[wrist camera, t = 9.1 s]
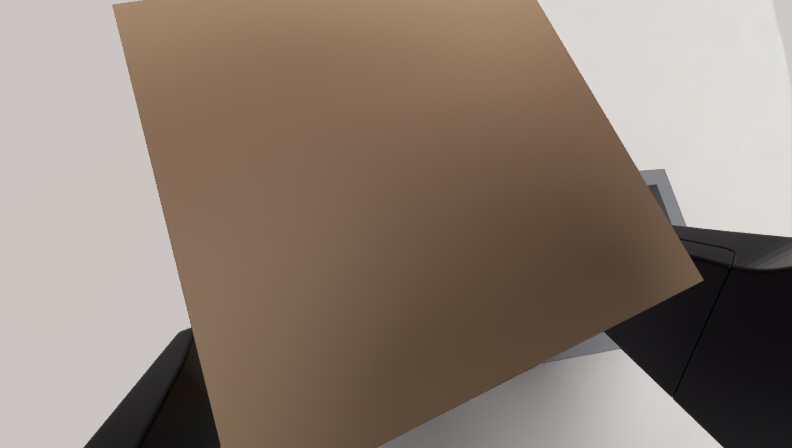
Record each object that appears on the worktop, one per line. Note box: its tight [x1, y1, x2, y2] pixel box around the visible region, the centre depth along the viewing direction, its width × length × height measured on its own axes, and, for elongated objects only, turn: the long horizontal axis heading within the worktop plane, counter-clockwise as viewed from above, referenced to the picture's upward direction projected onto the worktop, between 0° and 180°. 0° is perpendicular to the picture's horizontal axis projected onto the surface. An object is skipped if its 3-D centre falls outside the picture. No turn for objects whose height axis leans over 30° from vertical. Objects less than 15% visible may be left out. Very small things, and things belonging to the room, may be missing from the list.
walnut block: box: [112, 0, 703, 448], centre depth 11 cm, size 5×5×15 cm
